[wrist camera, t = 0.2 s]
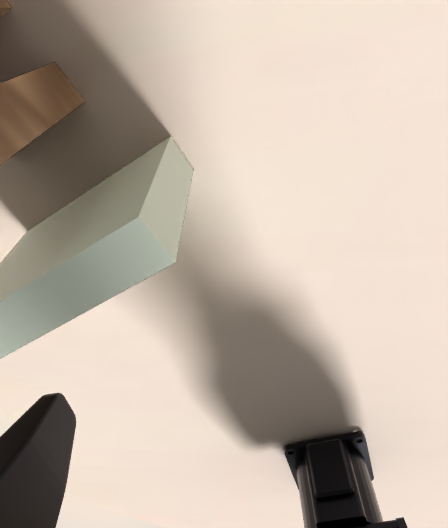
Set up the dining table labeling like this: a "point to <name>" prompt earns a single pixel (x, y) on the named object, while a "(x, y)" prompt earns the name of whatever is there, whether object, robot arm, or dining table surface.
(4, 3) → the domino
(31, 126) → the domino
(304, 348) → the dining table surface
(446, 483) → the dining table surface
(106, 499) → the dining table surface
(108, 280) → the end tile
